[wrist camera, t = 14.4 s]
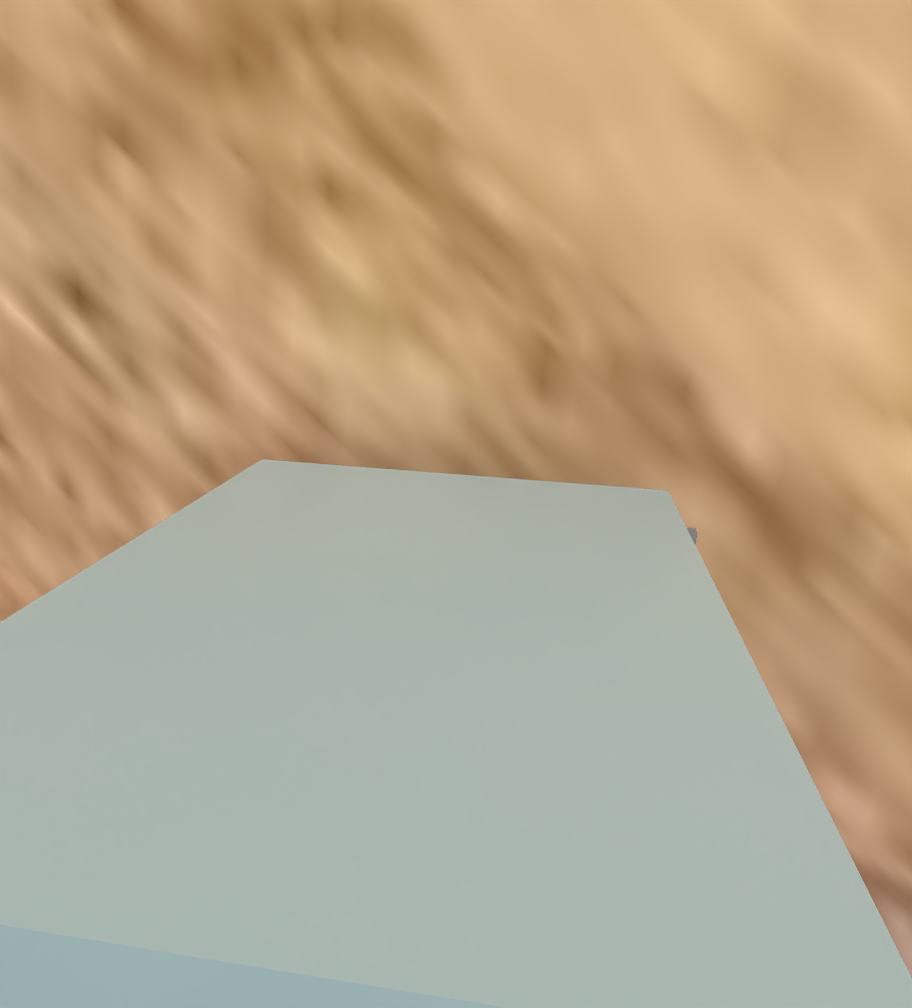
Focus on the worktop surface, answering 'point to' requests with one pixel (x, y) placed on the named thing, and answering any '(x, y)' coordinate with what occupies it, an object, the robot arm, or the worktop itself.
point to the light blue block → (412, 766)
